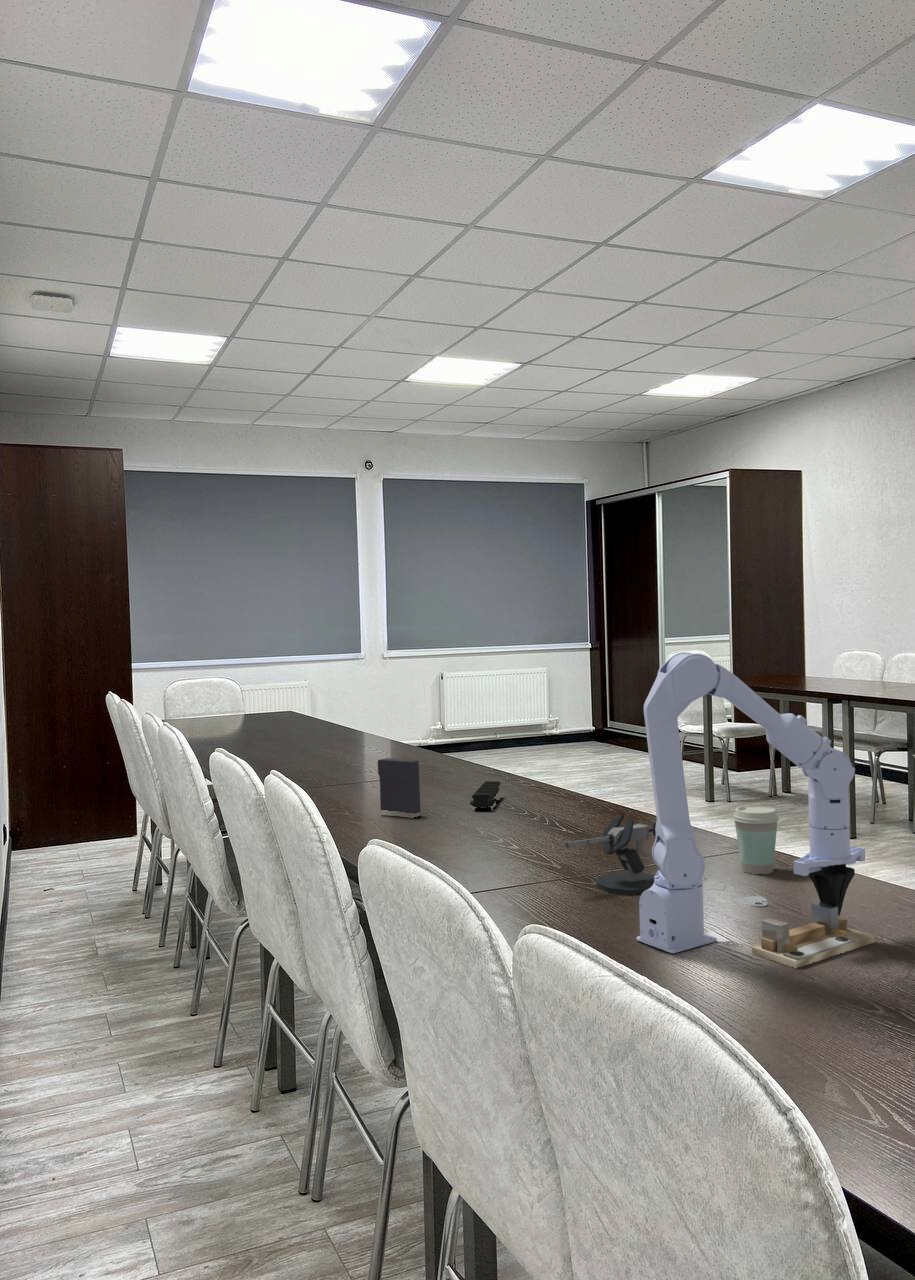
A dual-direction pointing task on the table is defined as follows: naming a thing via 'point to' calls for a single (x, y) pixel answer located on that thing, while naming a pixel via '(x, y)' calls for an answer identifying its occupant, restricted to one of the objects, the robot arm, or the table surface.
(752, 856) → the coffee cup
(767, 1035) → the table surface
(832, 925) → the sliding head
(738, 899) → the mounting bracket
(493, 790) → the rail mount
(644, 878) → the gun turret
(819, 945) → the jig
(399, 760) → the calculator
